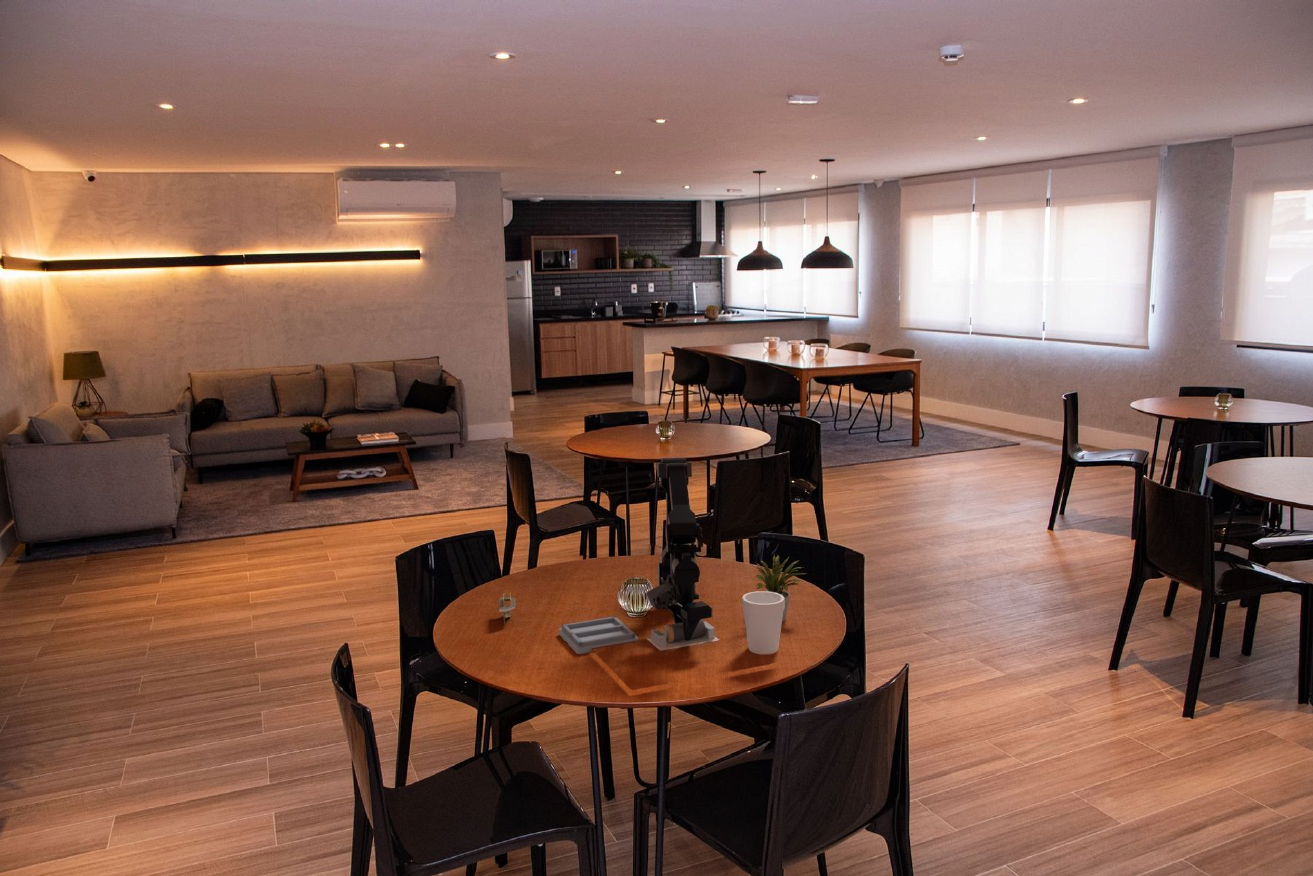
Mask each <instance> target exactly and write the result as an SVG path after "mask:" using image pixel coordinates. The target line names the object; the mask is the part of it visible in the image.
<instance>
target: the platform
mask: <svg viewBox="0 0 1313 876" xmlns="http://www.w3.org/2000/svg"><path fill="white" fill-rule="evenodd" d="M506 602H509V604H510V605H506ZM498 603H499V604H498V612H500V613H502V612H503V613H502V614H503V627H505V626H506V618H510V619H511V618H512V617H511V616H512V615H513V614H512V610H515V609H516V598H515V597H512V593H511V592H509V593H508V592H505V593H503V596H500V597H499V601H498Z"/></svg>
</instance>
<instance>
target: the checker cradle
mask: <svg viewBox="0 0 1313 876" xmlns="http://www.w3.org/2000/svg"><path fill="white" fill-rule="evenodd" d="M703 622H704V624H705V628H706V633H705V636H704V637H698V638H692V639H690V640H687V641H686V640H680V641H674V642H669V643H668V642H666V636H665V635H664V634H663V633H662V631H660V630H659V629H658V628H656V629H652V630H650V638H646V640H647V641H648V642H650V644H652V645H653V646H654V647H655V648H657V649H658V650H659V652H660V651H666V650H673V649H678V648H684V647H689V646H695V645H701V644H706V643H712V642H717V641H718V642H719V641H720V639H719V638H717V637H716V628H715V627H714V626H712V625H711V624H710V623H708V622H707V621H703Z"/></svg>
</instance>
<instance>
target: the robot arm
mask: <svg viewBox="0 0 1313 876" xmlns="http://www.w3.org/2000/svg"><path fill="white" fill-rule="evenodd" d="M656 472H657V473H656V474H657V477H658V478H659V481H660V485H661V487H662V488H663V490H664V492H665V499H666V500H665V507H666V510H665V513H666V515H665V517H666V524H665V543H666V545H665V547H664V549H663V550H662V552H661V553H660V562H658V565H657V566H658V567H657V584H658V585H657V586H656V587H653V588H652V589H650V590H648V591H647V592H646V596H647V598H648V601H649V603H650V606H651V607H653V608H654V609H655V610H662V609H666V610H669V611H670V614H671V616H672V620H673V624H675V623H681V622H683V629H684V636H685V640H686V641H687V640H690V639H691V637H692V635H693V633H694V631H695V629H696V627H697V625H698V623H699V621H700V620H705V619H711V618H713V608H712V607H711V606H710V605H709V604H707V603H706V602H705V601H702V600H701V601H700V595H699V594H698V593H697V591H696V587H697V585H696V583H699V582H700V574H701V570H700V567H699V564H698V562H697V560H696V553H702V548H703V547H704V539H703V537H704V536H703V528H702V527H701V524H700V523H697V518H696V516H697V515H696V513H695V512H694V511H693V510H692V509H691V508H690V499H689V493H688V486H689V478H692V476H693V475H692V474H693V473H692V472H693V467H692V461H687V458H686V457H663V458H661V461H659V462H657V463H656ZM695 543H696V544H695ZM695 600H699V601H695Z"/></svg>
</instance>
